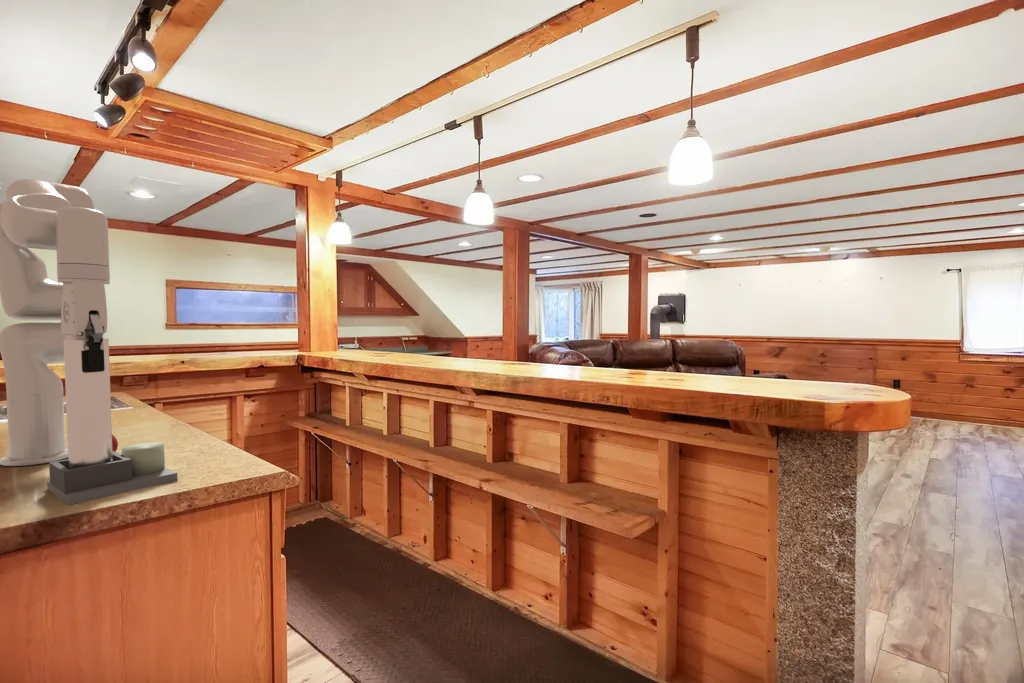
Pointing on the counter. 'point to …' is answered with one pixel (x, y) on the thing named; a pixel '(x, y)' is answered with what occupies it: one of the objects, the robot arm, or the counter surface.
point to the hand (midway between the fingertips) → (87, 369)
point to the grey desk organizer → (111, 474)
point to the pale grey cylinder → (87, 407)
